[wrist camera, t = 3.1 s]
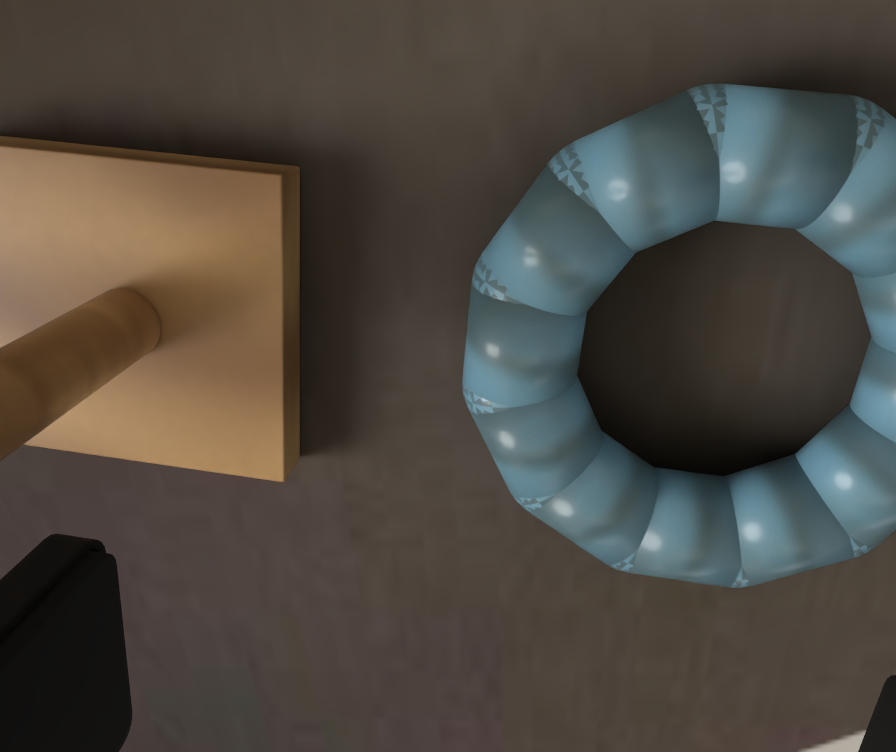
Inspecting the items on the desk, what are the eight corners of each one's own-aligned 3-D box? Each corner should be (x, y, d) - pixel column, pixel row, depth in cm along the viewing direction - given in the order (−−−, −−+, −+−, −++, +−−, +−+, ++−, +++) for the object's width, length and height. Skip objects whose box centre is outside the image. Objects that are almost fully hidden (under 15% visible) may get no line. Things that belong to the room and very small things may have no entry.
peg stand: (-11, 134, 22) (-645, 232, 10) (300, 166, 21) (-20, 311, 10) (32, 420, 25) (-404, 726, 14) (300, 458, 25) (67, 817, 13)
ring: (497, 62, 19) (485, 64, 16) (1058, 110, 18) (1146, 122, 15) (455, 508, 24) (440, 566, 22) (887, 570, 23) (930, 640, 20)
